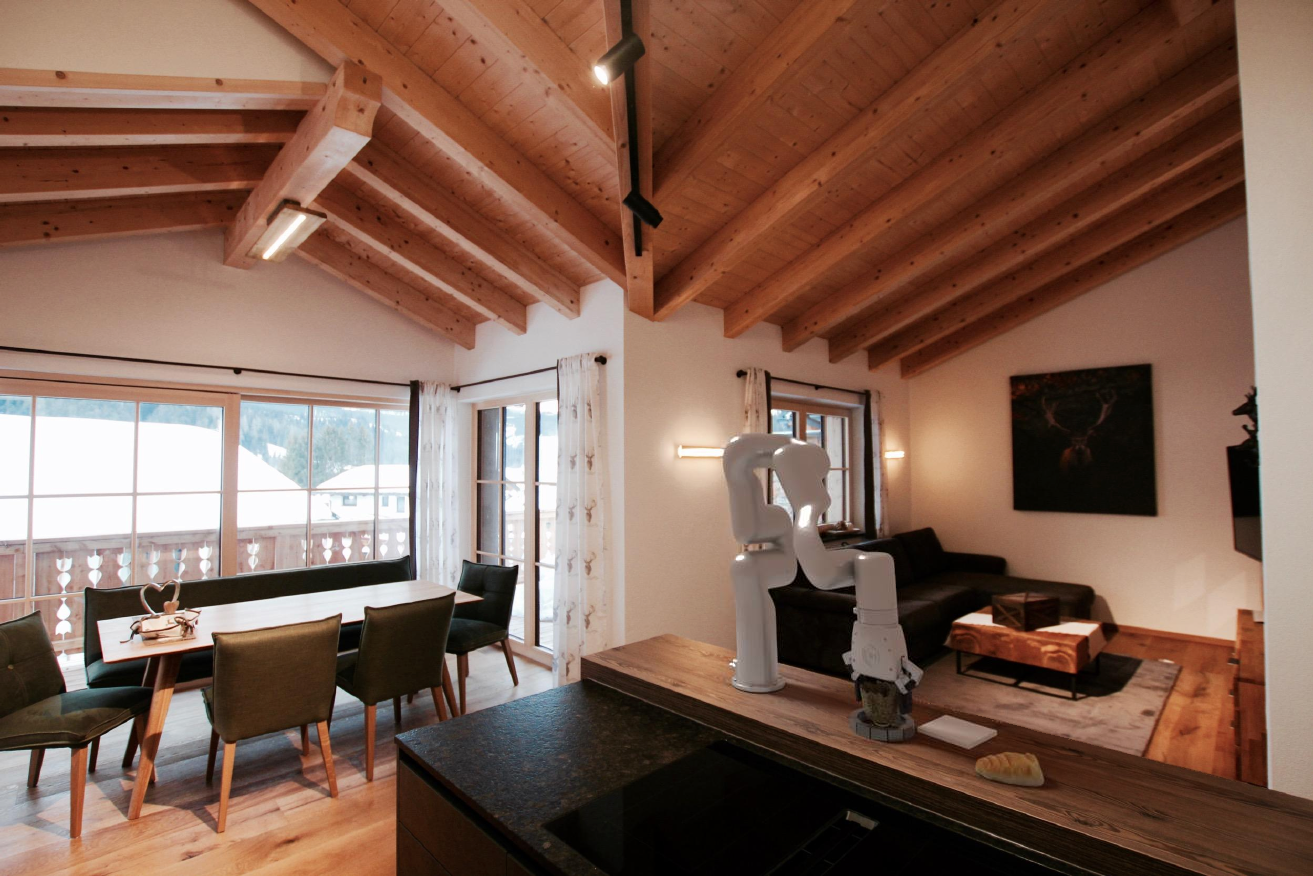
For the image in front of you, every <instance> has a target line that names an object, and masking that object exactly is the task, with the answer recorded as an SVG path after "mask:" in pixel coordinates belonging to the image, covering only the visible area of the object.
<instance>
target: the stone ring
mask: <svg viewBox="0 0 1313 876" xmlns="http://www.w3.org/2000/svg"><path fill="white" fill-rule="evenodd" d="M866 721H872V720H871V719H869V718H868V717H867V715H866V713H865V711H864V707H860V708H857V709H854V710H852V711H850V715H849V728H850V729H851V731H853V732H854V733H855V734H857V735H859V736H861V737H864V738H867V739H869V740H873V741H880V742H887V743H888V742H889V743H890V742H902V741H907V740H909V739H911V738H913V737H914V736H915V720H914V718H913V717H912V716H911V715H909V713H908V714H905V715H901V714H900V713H898V716H897V718H896V719H895V720H894V721H893V722H892V723H894V724H898V725H900V726H892V727H890V728H884V727H877V726H872V724H868V723H866Z"/></svg>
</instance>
